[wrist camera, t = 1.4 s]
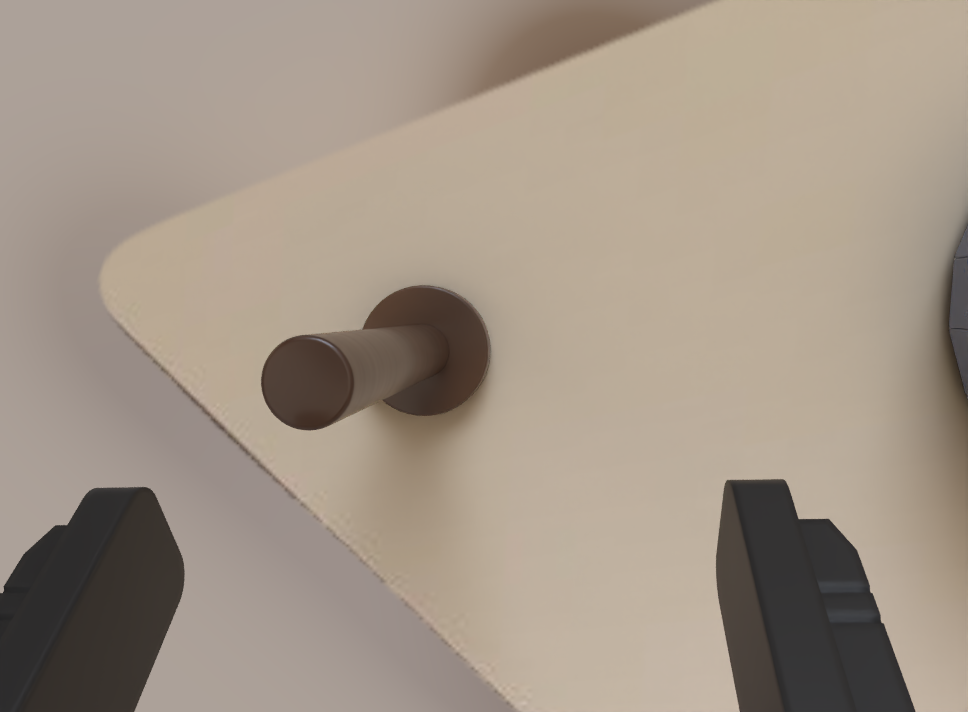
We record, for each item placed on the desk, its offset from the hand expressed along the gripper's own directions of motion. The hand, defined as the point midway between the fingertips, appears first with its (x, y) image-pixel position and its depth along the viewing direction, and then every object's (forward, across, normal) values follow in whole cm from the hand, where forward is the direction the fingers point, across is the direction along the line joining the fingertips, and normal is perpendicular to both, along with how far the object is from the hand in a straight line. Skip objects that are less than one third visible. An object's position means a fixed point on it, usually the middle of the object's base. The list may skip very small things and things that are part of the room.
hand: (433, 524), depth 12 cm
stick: (+16, +3, +8) cm, 18 cm away
